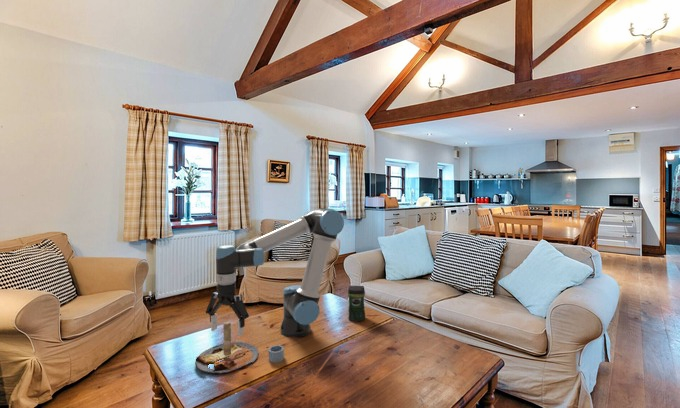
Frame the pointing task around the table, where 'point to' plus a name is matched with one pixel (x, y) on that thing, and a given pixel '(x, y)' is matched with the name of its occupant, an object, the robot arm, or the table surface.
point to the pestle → (227, 338)
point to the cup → (276, 353)
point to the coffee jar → (356, 303)
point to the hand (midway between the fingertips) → (227, 332)
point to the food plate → (222, 357)
